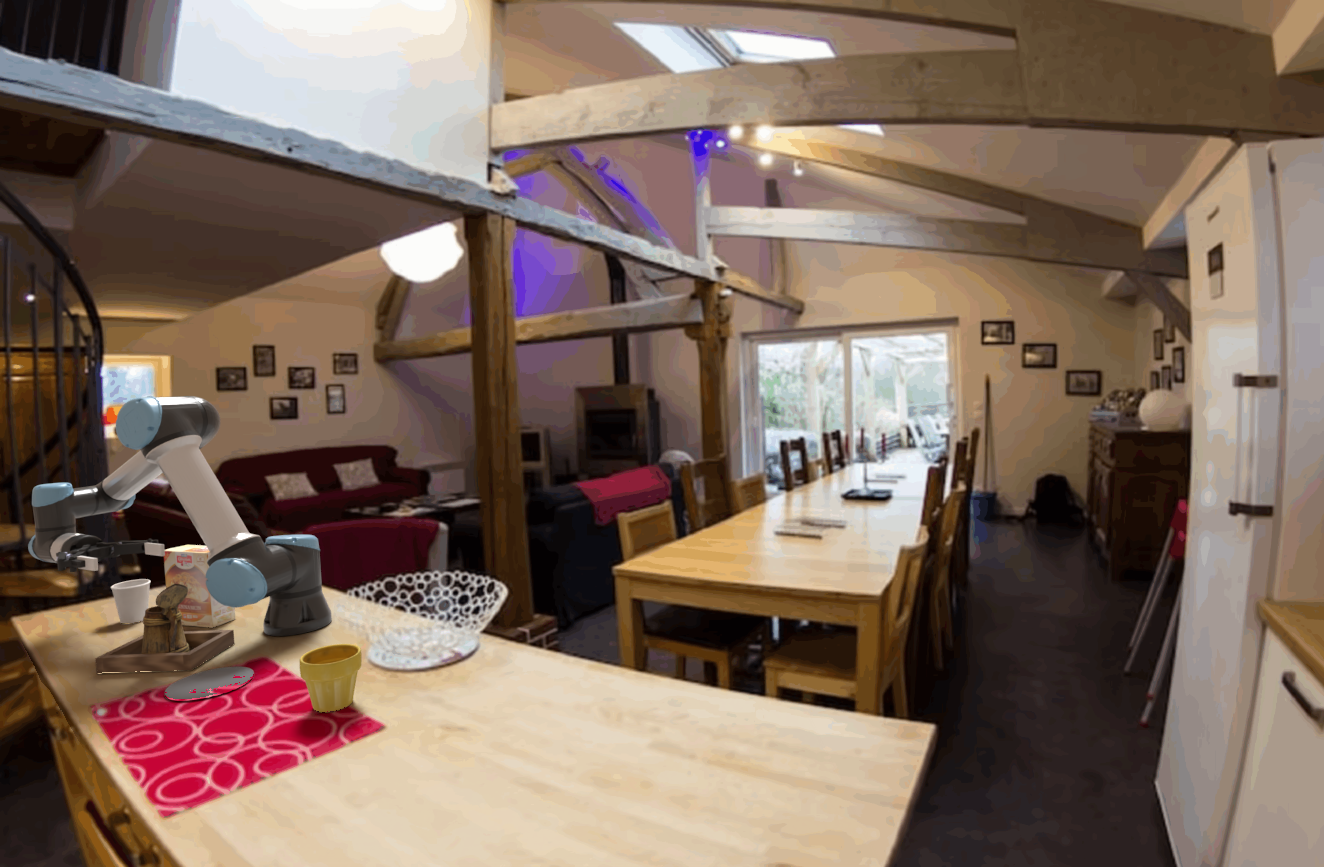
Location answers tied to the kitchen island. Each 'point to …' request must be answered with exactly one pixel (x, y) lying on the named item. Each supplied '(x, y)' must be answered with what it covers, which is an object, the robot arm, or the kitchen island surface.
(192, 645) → the frame
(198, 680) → the grey mat
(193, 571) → the coffeecake box
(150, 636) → the wooden mug
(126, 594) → the dixie cup
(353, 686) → the plant pot
